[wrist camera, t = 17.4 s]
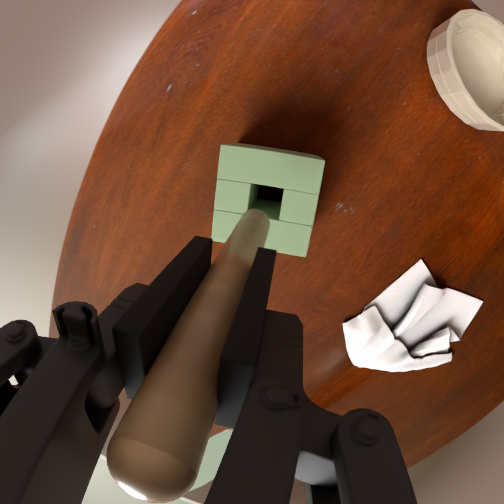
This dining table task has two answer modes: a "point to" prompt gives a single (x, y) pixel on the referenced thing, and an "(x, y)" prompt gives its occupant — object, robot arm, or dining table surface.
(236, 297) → the stick
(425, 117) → the dining table surface
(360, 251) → the dining table surface
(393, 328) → the cloth
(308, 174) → the stand
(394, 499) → the robot arm
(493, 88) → the bowl
